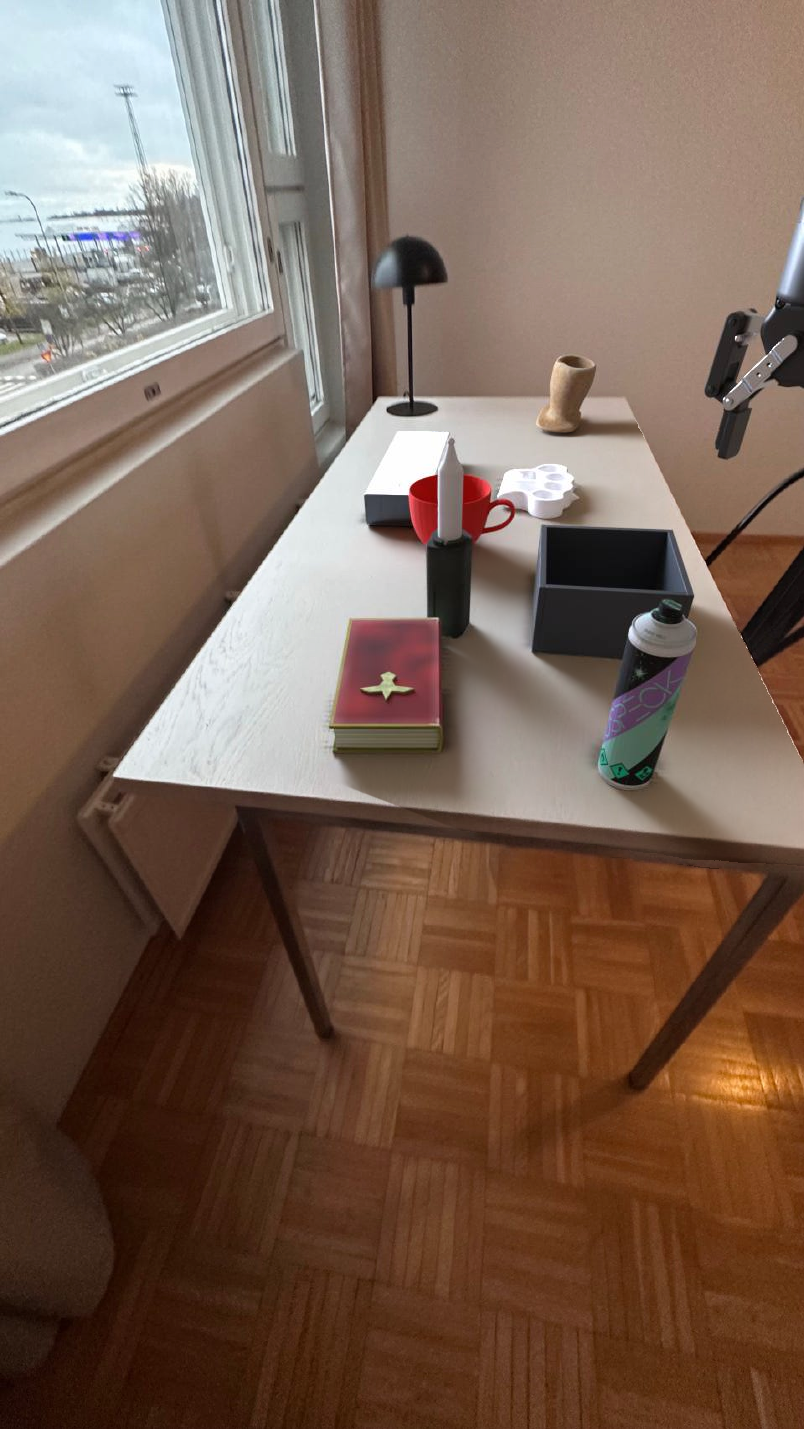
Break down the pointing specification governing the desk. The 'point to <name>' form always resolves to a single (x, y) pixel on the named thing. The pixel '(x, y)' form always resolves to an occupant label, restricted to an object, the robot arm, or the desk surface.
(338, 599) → the desk surface
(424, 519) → the ceramic cup
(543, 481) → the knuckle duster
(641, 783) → the spray can
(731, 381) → the robot arm
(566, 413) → the stone cup
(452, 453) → the candle
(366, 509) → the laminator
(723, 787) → the desk surface
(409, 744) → the hardcover book
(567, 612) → the bin
